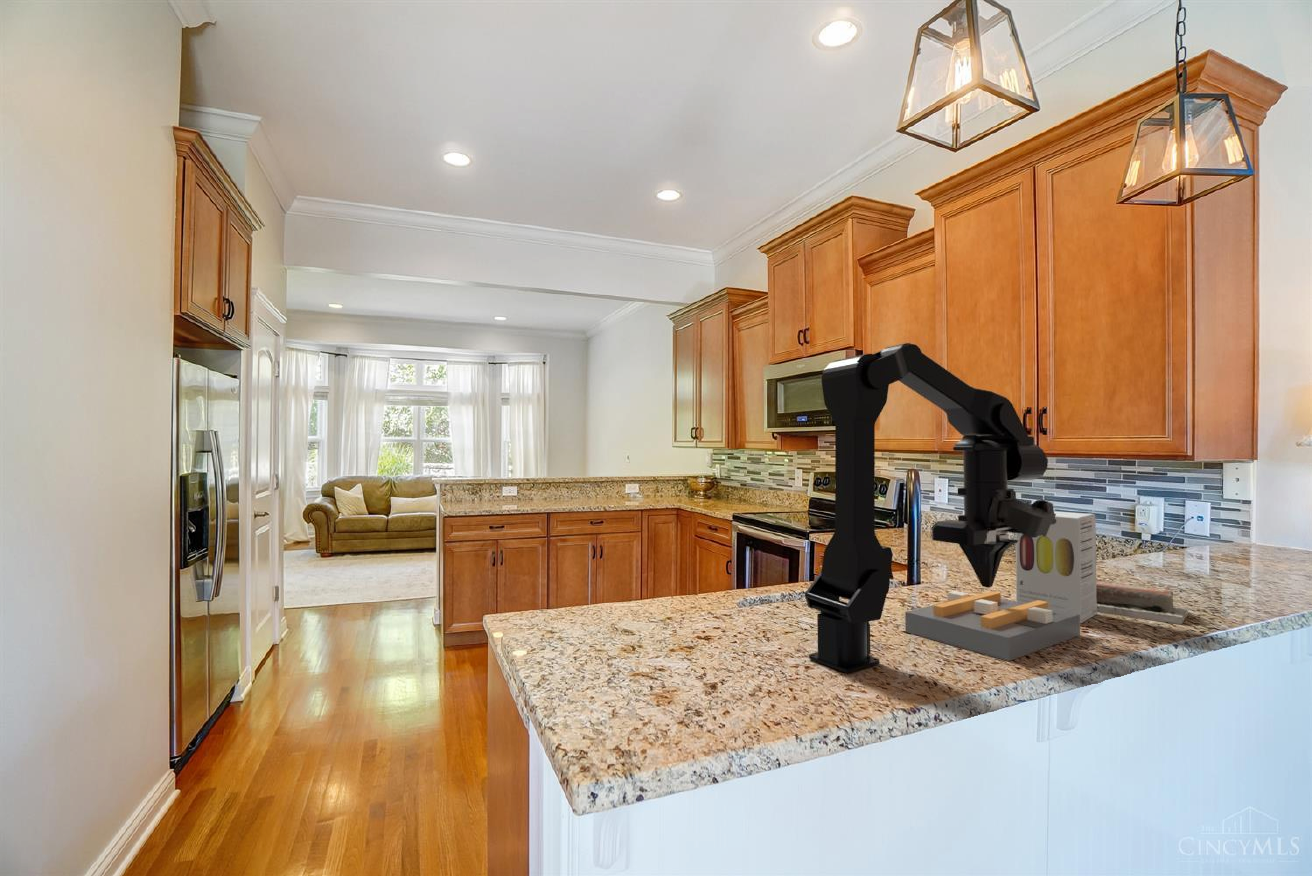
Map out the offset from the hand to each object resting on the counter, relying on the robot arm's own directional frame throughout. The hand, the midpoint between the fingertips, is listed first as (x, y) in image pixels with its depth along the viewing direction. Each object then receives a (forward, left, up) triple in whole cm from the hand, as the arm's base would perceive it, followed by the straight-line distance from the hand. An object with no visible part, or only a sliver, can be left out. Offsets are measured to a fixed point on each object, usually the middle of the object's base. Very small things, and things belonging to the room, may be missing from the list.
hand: (987, 586), depth 88 cm
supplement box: (+21, 0, -7) cm, 22 cm away
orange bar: (+1, -4, -4) cm, 5 cm away
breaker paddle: (0, 0, -4) cm, 4 cm away
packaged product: (+33, -4, -8) cm, 34 cm away
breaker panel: (+1, 0, -7) cm, 7 cm away
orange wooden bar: (+1, +3, -4) cm, 5 cm away
